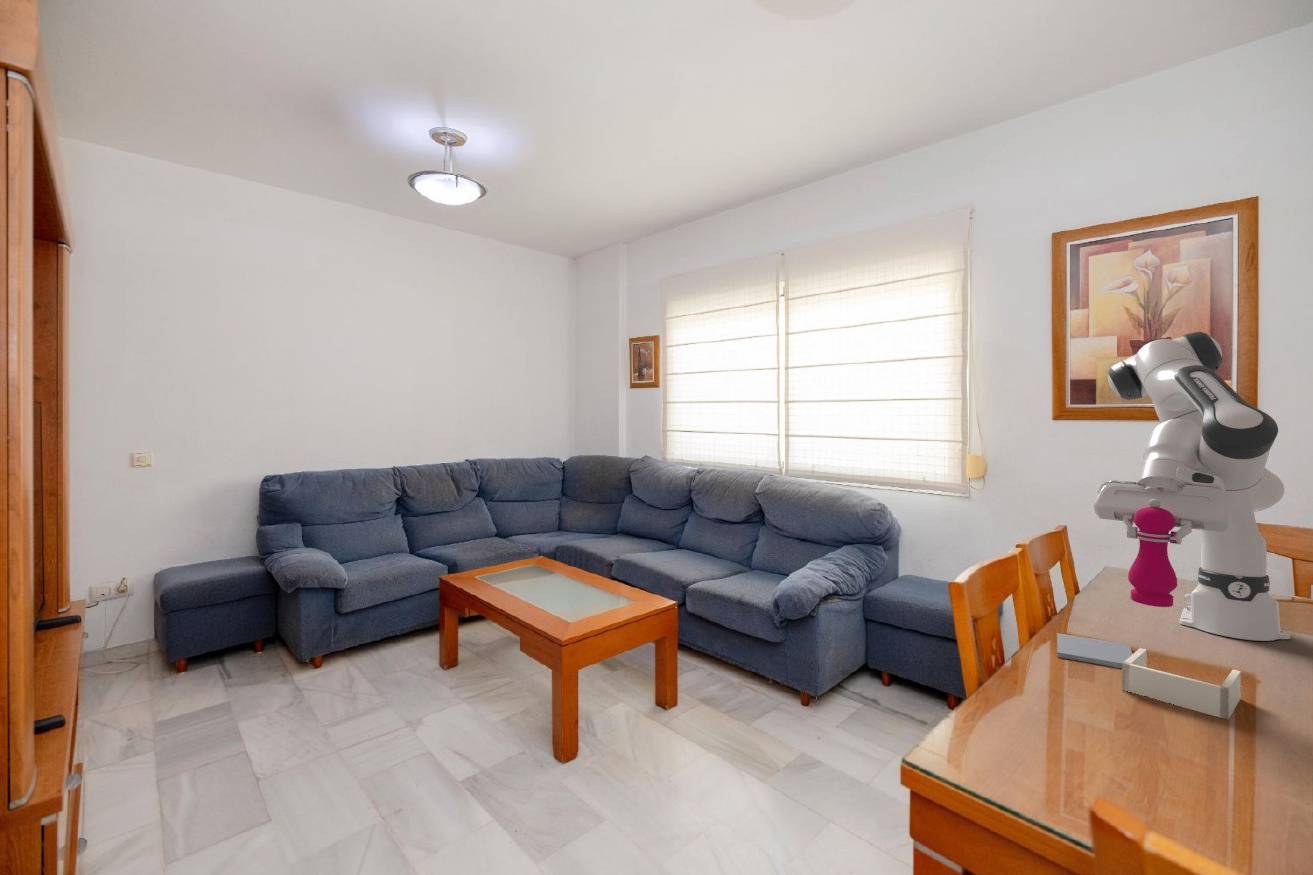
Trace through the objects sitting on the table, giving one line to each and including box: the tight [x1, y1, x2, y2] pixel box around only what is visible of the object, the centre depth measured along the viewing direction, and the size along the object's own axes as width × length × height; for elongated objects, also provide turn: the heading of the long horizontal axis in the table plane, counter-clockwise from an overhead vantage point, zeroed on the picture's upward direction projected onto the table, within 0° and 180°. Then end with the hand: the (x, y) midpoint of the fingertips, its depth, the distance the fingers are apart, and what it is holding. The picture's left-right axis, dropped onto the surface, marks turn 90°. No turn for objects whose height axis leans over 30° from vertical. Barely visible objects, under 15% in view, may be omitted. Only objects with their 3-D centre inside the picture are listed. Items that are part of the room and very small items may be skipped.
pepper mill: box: [1127, 499, 1178, 608], centre depth 111 cm, size 7×7×20 cm
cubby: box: [1121, 647, 1242, 721], centre depth 105 cm, size 12×14×5 cm
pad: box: [1056, 633, 1134, 669], centre depth 124 cm, size 14×13×1 cm
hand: (1152, 539), depth 111 cm, fingers closed on pepper mill, 5 cm apart
